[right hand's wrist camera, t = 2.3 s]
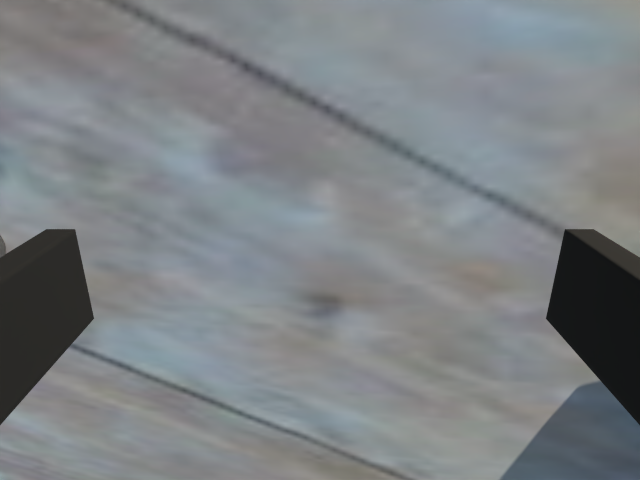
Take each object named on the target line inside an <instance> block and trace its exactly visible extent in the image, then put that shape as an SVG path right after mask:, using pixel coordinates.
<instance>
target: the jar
mask: <svg viewBox="0 0 640 480" xmlns="http://www.w3.org/2000/svg"><path fill="white" fill-rule="evenodd" d="M5 252H6V248H5V244H4V241H3V239H2V238H1V236H0V258H1V257H2V256H4V255H5Z"/></svg>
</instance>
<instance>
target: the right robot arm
mask: <svg viewBox="0 0 640 480" xmlns="http://www.w3.org/2000/svg"><path fill="white" fill-rule="evenodd" d="M93 319H94V317H93V312H92V307H91V303H90V298H89V293H88V288H87V284H86V279H85V274H84V269H83V265H82V260H81V255H80V251H79V246H78V241H77V236H76V232H75V229H46V230H45V231H43V232H41V233H40V234H38V235H36V236H35V237H33V238H32V239H30V240H28V241H27V242H25V243H23V244H22V245H20V246H18V247H17V248H15V249H14V250H12V251H10V252H9V253H7V254H5V255H4V256H2V257H1V258H0V425H1V424H2V422H3V421H4V420H5V419H6V418H7V417H8V416H9V414H10V413H11V412H12V411H13V410H14V409H15V408H16V406H17V405H18V404H19V403H20V402H21V401H22V400H23V399H24V397H25V396H26V395H27V394H28V393H29V392H30V391H31V389H32V388H33V387H34V386H35V385H36V384H37V383H38V381H39V380H40V379H41V378H42V377H43V376H44V375H45V374H46V372H47V371H48V370H49V369H50V368H51V367H52V366H53V364H54V363H55V362H56V361H57V360H58V359H59V358H60V357H61V355H62V354H63V353H64V352H65V351H66V350H67V349H68V347H69V346H70V345H71V344H72V343H73V342H74V341H75V339H76V338H77V337H78V336H79V335H80V334H81V333H82V332H83V330H84V329H85V328H86V327H87V326H88V325H89V324H90V322H91V321H92V320H93ZM546 319H547V320H548V321H549V322H550V324H551V325H552V326H553V327H554V328H555V329H556V330H557V332H558V333H559V334H560V335H561V336H562V337H563V338H564V339H565V341H566V342H567V343H568V344H569V345H570V346H571V347H572V349H573V350H574V351H575V352H576V353H577V354H578V355H579V357H580V358H581V359H582V360H583V361H584V362H585V363H586V364H587V366H588V367H589V368H590V369H591V370H592V371H593V372H594V374H595V375H596V376H597V377H598V378H599V379H600V380H601V381H602V383H603V384H604V385H605V386H606V387H607V388H608V389H609V391H610V392H611V393H612V394H613V395H614V396H615V397H616V399H617V400H618V401H619V402H620V403H621V404H622V405H623V406H624V408H625V409H626V410H627V411H628V412H629V413H630V414H631V416H632V417H633V418H634V419H635V420H636V421H637V422H638V424H639V425H640V258H639V257H638V256H636V255H635V254H633V253H631V252H630V251H628V250H626V249H625V248H623V247H622V246H620V245H618V244H617V243H615V242H613V241H612V240H610V239H608V238H607V237H605V236H604V235H602V234H600V233H599V232H597V231H595V230H594V229H565V232H564V236H563V241H562V246H561V251H560V255H559V260H558V265H557V269H556V274H555V279H554V284H553V288H552V293H551V298H550V303H549V307H548V312H547V317H546Z"/></svg>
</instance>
